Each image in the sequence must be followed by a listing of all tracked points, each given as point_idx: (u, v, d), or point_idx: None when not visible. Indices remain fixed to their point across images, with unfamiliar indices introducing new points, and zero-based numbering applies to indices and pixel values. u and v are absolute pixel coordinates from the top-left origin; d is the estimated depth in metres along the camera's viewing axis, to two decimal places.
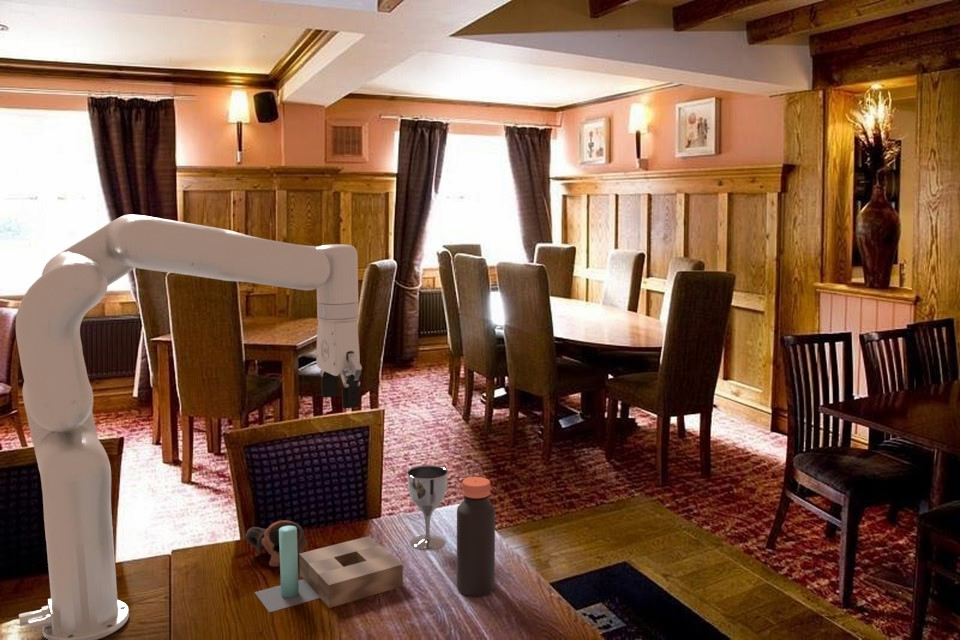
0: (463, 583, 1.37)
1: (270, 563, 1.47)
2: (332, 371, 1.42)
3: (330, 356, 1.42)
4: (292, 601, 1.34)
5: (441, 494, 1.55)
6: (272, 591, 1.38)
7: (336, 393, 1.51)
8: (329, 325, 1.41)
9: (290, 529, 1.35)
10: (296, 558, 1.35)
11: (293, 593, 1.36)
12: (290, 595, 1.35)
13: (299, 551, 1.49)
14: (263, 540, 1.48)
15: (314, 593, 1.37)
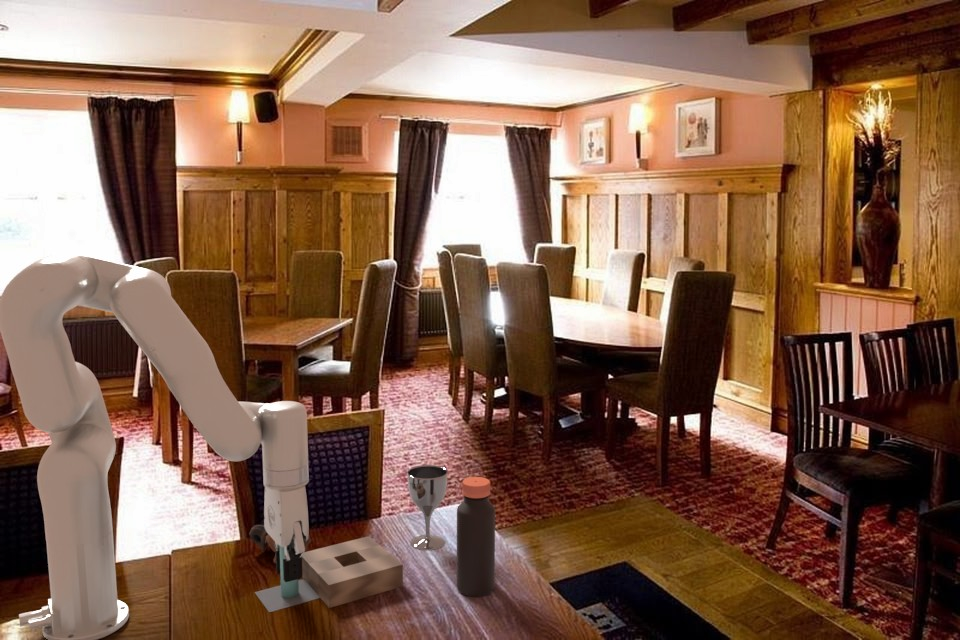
0: (463, 583, 1.37)
1: (274, 560, 1.48)
2: (278, 542, 1.31)
3: (276, 525, 1.31)
4: (292, 601, 1.34)
5: (441, 494, 1.55)
6: (272, 591, 1.38)
7: None
8: (275, 493, 1.31)
9: None
10: None
11: (293, 593, 1.36)
12: (290, 595, 1.35)
13: None
14: (267, 538, 1.49)
15: (314, 593, 1.37)
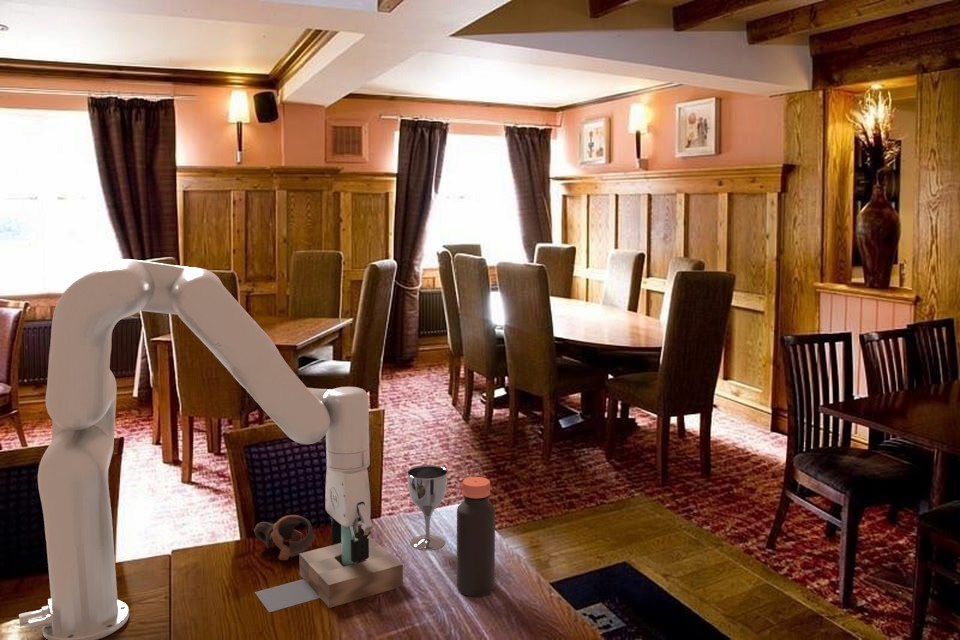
0: (463, 583, 1.37)
1: (279, 557, 1.50)
2: (342, 522, 1.36)
3: (340, 506, 1.36)
4: (292, 601, 1.34)
5: (441, 494, 1.55)
6: (272, 591, 1.38)
7: None
8: (339, 475, 1.35)
9: None
10: None
11: None
12: None
13: (308, 545, 1.51)
14: (272, 534, 1.51)
15: (314, 593, 1.37)
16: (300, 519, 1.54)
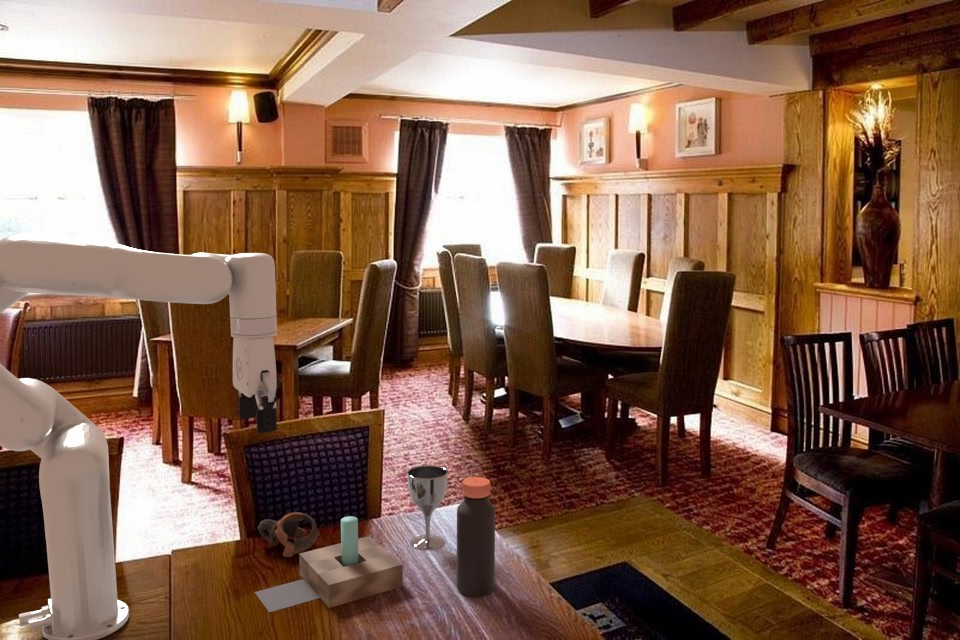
0: (463, 583, 1.37)
1: (284, 554, 1.51)
2: (245, 392, 1.29)
3: (243, 375, 1.30)
4: (292, 601, 1.34)
5: (441, 494, 1.55)
6: (272, 591, 1.38)
7: (256, 414, 1.39)
8: (242, 342, 1.29)
9: (352, 520, 1.40)
10: (357, 547, 1.40)
11: None
12: None
13: (312, 542, 1.53)
14: (276, 532, 1.52)
15: (314, 593, 1.37)
16: (304, 516, 1.55)
